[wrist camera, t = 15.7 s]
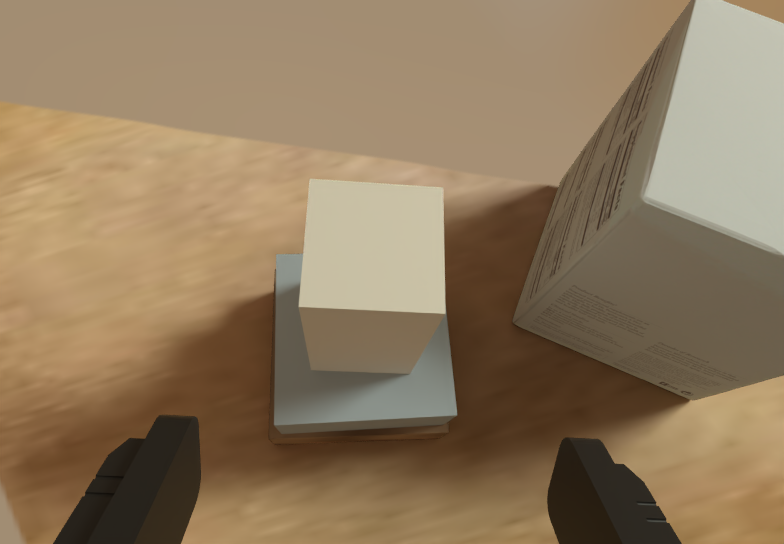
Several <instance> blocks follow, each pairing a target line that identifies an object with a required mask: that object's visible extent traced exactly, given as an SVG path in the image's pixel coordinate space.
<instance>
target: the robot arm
mask: <svg viewBox="0 0 784 544" xmlns="http://www.w3.org/2000/svg"><path fill="white" fill-rule="evenodd" d="M200 480H201V464H200V443H199V424H198V419H197V417H195V416H176V415H159V416H158V417H157V419H156V421H155V422H154V424H153V426H152V428H151V429H150V431H149V433H148V435H147V437H146V438H145V439H136V438H129V439H128V440H127V441H126V442H124V443H123V444H122V445H121V446H119V447H118V448H117V449H115V450H114V451H113V452H112V453H110V454H109V455H108V457H107V458H106V460H105V461H104V463H103V465H102V466H101V468H100V469H99V471H98V473H97V474H96V478H95V479H93V481H92V482H91V484H90V485H89V487H88V489H87V490H86V492H85V496H84V497H82V498H81V500H80V501H79V503H78V505H77V506H76V508H75V509H74V511H73V513H72V514H71V516H70V517H69V519H68V521H67V522H66V524H65V525H64V527H63V529H62V530H61V532H60V533H59V535H58V537H57V538H56V540H55V541H54V543H53V544H181V542H182V539H183V536H184V534H185V531H186V528H187V526H188V523H189V520H190V518H191V515H192V512H193V510H194V507H195V504H196V501H197V497H198V493H199V488H200ZM547 503H548V512H549V517H550V520H551V523H552V526H553V528H554V531H555V534H556V536H557V539H558V542H559V544H682V543H681V542H680V540H679V539H678V537H677V535H676V534H675V532H674V530H673V529H672V527H671V526H670V524H669V523H667V522H666V517H665V516H664V514H663V513H662V511H661V509H660V508H659V506H656V501H655V500H654V498H653V496H652V495H651V493H650V491H649V490H648V488H647V487H646V485H645V483H644V482H643V481H642V480H641V479H640V478H639V477H637V476H636V475H635V474H634V473H633V472H632V471H631V470H630V469H629V468H627V467H626V466H625V465H624V464H615V463H614V462H613V460H612V458H611V456H610V455H609V453H608V451H607V449H606V448H605V446H604V444H603V443H602V442H601V441H600V440H599V439H585V438H564V439H563V440H562V442H561V444H560V447H559V451H558V455H557V459H556V462H555V466H554V470H553V474H552V478H551V481H550V485H549V489H548V498H547Z"/></svg>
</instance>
